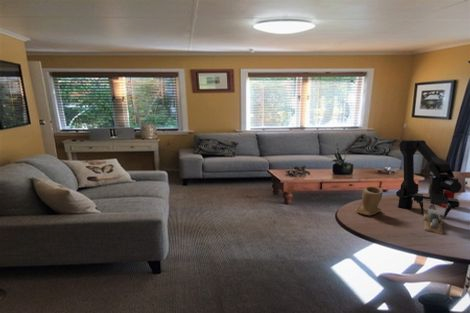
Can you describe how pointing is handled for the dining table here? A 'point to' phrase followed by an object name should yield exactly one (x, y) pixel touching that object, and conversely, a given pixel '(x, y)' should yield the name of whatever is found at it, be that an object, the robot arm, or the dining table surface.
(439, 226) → the shaft bench
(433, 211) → the block
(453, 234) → the dining table surface
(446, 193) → the canned food
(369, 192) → the stone cup
